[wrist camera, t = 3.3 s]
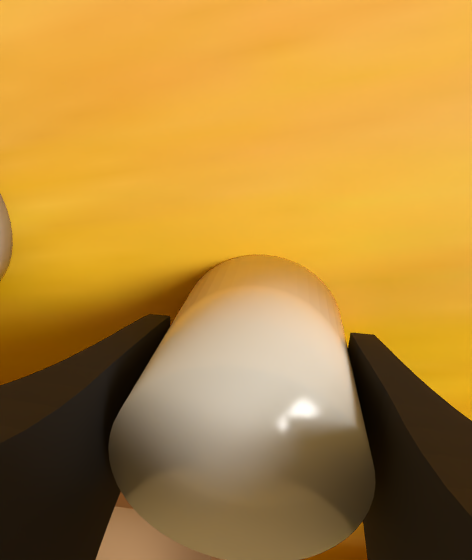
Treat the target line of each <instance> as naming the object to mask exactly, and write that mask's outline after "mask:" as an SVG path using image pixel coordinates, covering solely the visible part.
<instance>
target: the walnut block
mask: <svg viewBox="0 0 472 560" xmlns="http://www.w3.org/2000/svg"><path fill="white" fill-rule="evenodd" d="M95 560H224V559H220V558H216V557H212V556H209V555H206V554H203V553H200V552H197V551H195V550H192V549H190V548H188V547H185V546H183V545H181V544H179V543H177V542H175V541H174V540H172V539H170V538H169V537H167V536H165V535H164V534H162V533H161V532H159V531H158V530H156V529H155V528H154V527H152V526H151V525H150V524H149V523H148V522H146V521H145V520H144V519H143V518H142V517H141V516H140V515H139V514H138V513H137V512H136V511H135V510H134V509H133V508H132V506H131V505H130V504H129V503H128V501H127V500H126V498H125V497H124V496H123V494H122V492H120V495H119V497H118V500H117V502H116V505H115V508H114V510H113V513H112V516H111V518H110V521H109V523H108V526H107V529H106V532H105V534H104V537H103V540H102V543H101V546H100V548H99V551H98V554H97V557H96V559H95Z"/></svg>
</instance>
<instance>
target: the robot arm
mask: <svg viewBox="0 0 472 560" xmlns="http://www.w3.org/2000/svg"><path fill="white" fill-rule="evenodd" d="M169 328H170V316H163V315H152V314H149V315H147V316H145V317H143V318H141V319H139V320H137V321H135V322H134V323H132V324H130V325H128V326H127V327H125V328H123V329H121V330H120V331H118V332H116V333H114V334H113V335H111V336H109V337H107V338H105V339H104V340H102V341H100V342H98V343H97V344H95V345H93V346H91V347H89V348H87V349H85V350H83V351H81V352H79V353H77V354H75V355H73V356H71V357H69V358H67V359H65V360H63V361H61V362H59V363H57V364H55V365H52V366H50V367H48V368H46V369H43V370H41V371H38V372H36V373H33V374H31V375H29V376H26V377H23V378H21V379H18V380H15V381H12V382H9V383H7V384H4V385H1V386H0V560H95V559H96V557H97V554H98V551H99V548H100V546H101V543H102V540H103V537H104V534H105V532H106V529H107V526H108V523H109V521H110V518H111V516H112V513H113V510H114V508H115V505H116V502H117V500H118V497H119V495H120V492H121V491H120V489H119V487H118V485H117V483H116V481H115V478H114V476H113V473H112V470H111V465H110V461H109V448H108V447H109V438H110V433H111V429H112V426H113V423H114V421H115V419H116V417H117V415H118V413H119V411H120V409H121V408H122V406H123V404H124V403H125V401H126V399H127V398H128V396H129V394H130V393H131V391H132V389H133V388H134V386H135V384H136V383H137V381H138V379H139V378H140V376H141V374H142V373H143V371H144V369H145V368H146V366H147V364H148V363H149V361H150V359H151V358H152V356H153V354H154V353H155V351H156V349H157V348H158V346H159V344H160V343H161V341H162V339H163V338H164V336H165V334H166V333H167V331H168V329H169ZM348 352H349V357H350V361H351V366H352V370H353V375H354V379H355V384H356V388H357V393H358V397H359V401H360V406H361V410H362V415H363V419H364V424H365V428H366V433H367V437H368V442H369V446H370V451H371V455H372V460H373V464H374V469H375V491H374V498H373V500H372V503H371V506H370V509H369V511H368V513H367V515H366V516H365V518H364V520H363V524H364V532H365V541H366V549H367V558H368V560H472V421H471V420H470V419H468V418H467V417H465V416H464V415H463V414H461V413H460V412H459V411H458V410H456V409H455V408H454V407H452V406H451V405H450V404H449V403H447V402H446V401H445V400H444V399H443V398H441V397H440V396H439V395H438V394H437V393H435V392H434V391H433V390H432V389H431V388H429V387H428V386H427V385H426V384H425V383H424V382H423V381H422V380H420V379H419V378H418V377H417V376H416V375H415V374H414V373H413V372H412V371H411V370H410V369H409V368H408V367H407V366H405V365H404V364H403V363H402V362H401V361H400V360H399V359H398V358H397V357H396V356H395V355H394V354H393V353H392V352H391V351H390V350H389V349H388V348H387V347H386V346H385V345H384V344H383V343H382V342H381V341H380V340H379V339H378V338H377V337H376V336H375V335H370V334H360V333H351V334H350V340H349V346H348Z"/></svg>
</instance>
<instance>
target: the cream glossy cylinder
mask: <svg viewBox="0 0 472 560" xmlns="http://www.w3.org/2000/svg"><path fill="white" fill-rule="evenodd" d="M108 448H109V461H110V465H111V470H112V473H113V476H114V478H115V481H116V483H117V485H118V487H119V489H120V491H121V492H122V494H123V496H124V497H125V498H126V500H127V501H128V503H129V504H130V505H131V506H132V508H133V509H134V510H135V511H136V512H137V513H138V514H139V515H140V516H141V517H142V518H143V519H144V520H145V521H146V522H148V523H149V524H150V525H151V526H152V527H154V528H155V529H156V530H158V531H159V532H161V533H162V534H164V535H165V536H167V537H169V538H170V539H172V540H174V541H175V542H177V543H179V544H181V545H183V546H185V547H188V548H190V549H192V550H195V551H197V552H200V553H203V554H206V555H209V556H212V557H216V558H220V559H224V560H301V559H305V558H309V557H311V556H314V555H317V554H320V553H322V552H324V551H326V550H328V549H330V548H332V547H334V546H336V545H337V544H339V543H340V542H342V541H343V540H345V539H346V538H347V537H348V536H349V535H351V534H352V533H353V532H354V531H355V530H356V529H357V527H358V526H359V525H360V524H361V523H362V521H363V520H364V518H365V516H366V515H367V513H368V511H369V509H370V506H371V503H372V500H373V498H374V491H375V469H374V464H373V460H372V455H371V451H370V446H369V442H368V437H367V433H366V428H365V424H364V419H363V415H362V410H361V406H360V401H359V397H358V393H357V388H356V384H355V379H354V375H353V370H352V366H351V361H350V357H349V352H348V348H347V343H346V339H345V334H344V330H343V325H342V321H341V316H340V312H339V308H338V306H337V303H336V301H335V299H334V297H333V295H332V294H331V292H330V290H329V289H328V288H327V287H326V285H325V284H324V283H323V282H322V281H321V280H320V279H319V278H318V277H317V276H316V275H315V274H313V273H312V272H311V271H309V270H308V269H306V268H305V267H303V266H301V265H299V264H297V263H295V262H292V261H290V260H287V259H284V258H280V257H276V256H269V255H248V256H241V257H237V258H233V259H230V260H228V261H225V262H223V263H221V264H219V265H217V266H215V267H214V268H212V269H211V270H210V271H208V272H207V273H206V274H205V275H204V276H203V277H202V278H201V279H200V280H199V281H198V282H197V284H196V285H195V286H194V288H193V289H192V291H191V293H190V294H189V296H188V298H187V299H186V301H185V303H184V304H183V306H182V308H181V309H180V311H179V313H178V314H177V316H176V318H175V319H174V321H173V323H172V324H171V326H170V328H169V329H168V331H167V333H166V334H165V336H164V338H163V339H162V341H161V343H160V344H159V346H158V348H157V349H156V351H155V353H154V354H153V356H152V358H151V359H150V361H149V363H148V364H147V366H146V368H145V369H144V371H143V373H142V374H141V376H140V378H139V379H138V381H137V383H136V384H135V386H134V388H133V389H132V391H131V393H130V394H129V396H128V398H127V399H126V401H125V403H124V404H123V406H122V408H121V409H120V411H119V413H118V415H117V417H116V419H115V421H114V423H113V426H112V429H111V433H110V438H109V447H108Z"/></svg>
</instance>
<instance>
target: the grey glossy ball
mask: <svg viewBox="0 0 472 560" xmlns="http://www.w3.org/2000/svg"><path fill="white" fill-rule="evenodd" d="M12 246H13V244H12V229H11V222H10V219H9V215H8V211H7V208H6V206H5V203H4V201H3V198H2V196H1V194H0V281H1V279H2V278H3V276H4V275H5V273H6V271H7V268H8V266H9V263H10V259H11V255H12Z"/></svg>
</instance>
